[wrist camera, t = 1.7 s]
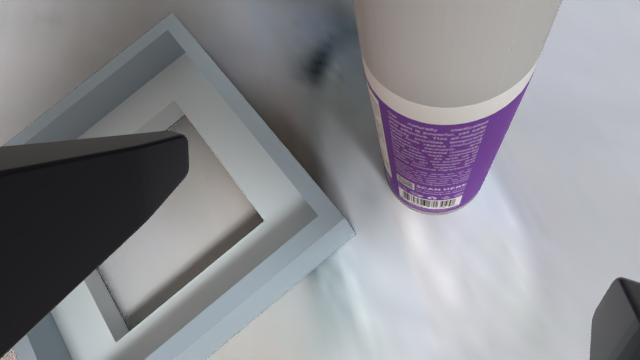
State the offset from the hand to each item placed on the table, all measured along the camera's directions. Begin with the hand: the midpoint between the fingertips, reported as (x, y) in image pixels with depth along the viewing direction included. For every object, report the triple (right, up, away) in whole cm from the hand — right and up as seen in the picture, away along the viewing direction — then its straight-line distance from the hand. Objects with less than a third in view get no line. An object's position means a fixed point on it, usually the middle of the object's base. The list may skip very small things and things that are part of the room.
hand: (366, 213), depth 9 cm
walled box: (-10, -1, +15) cm, 18 cm away
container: (+5, +1, +13) cm, 14 cm away
